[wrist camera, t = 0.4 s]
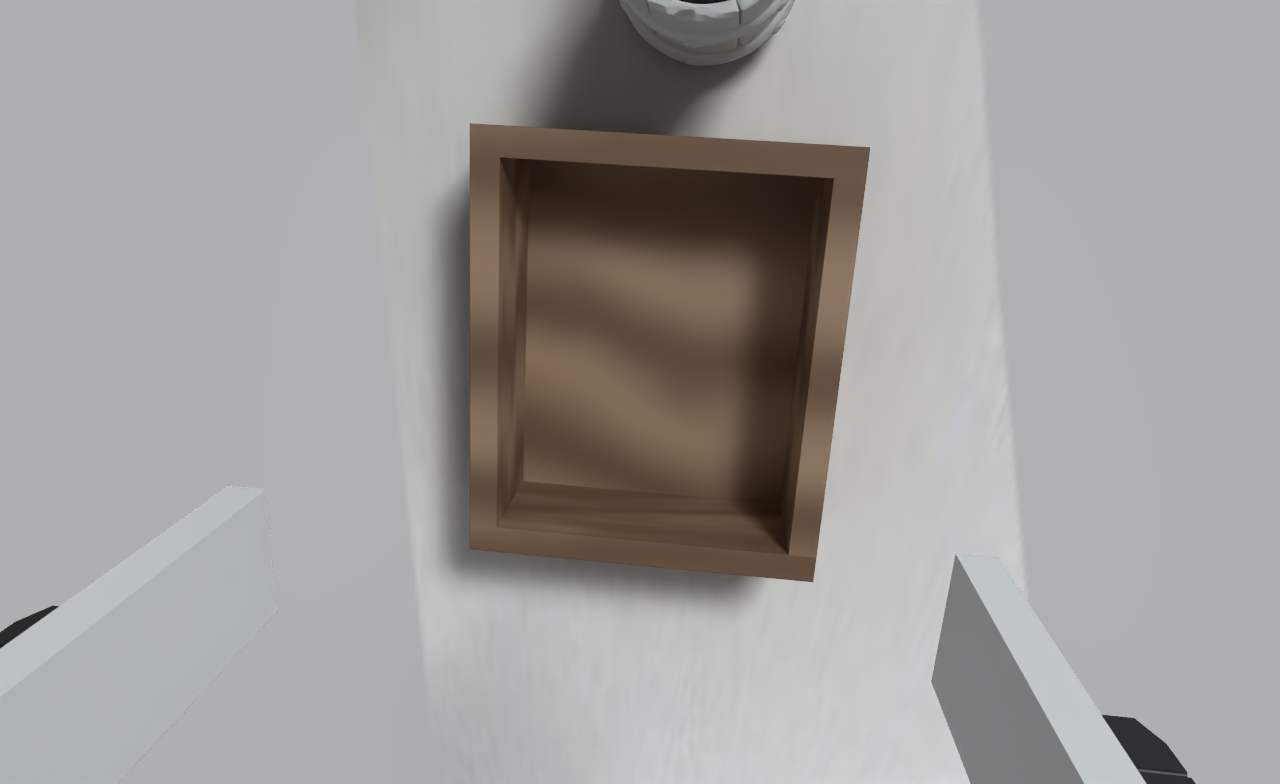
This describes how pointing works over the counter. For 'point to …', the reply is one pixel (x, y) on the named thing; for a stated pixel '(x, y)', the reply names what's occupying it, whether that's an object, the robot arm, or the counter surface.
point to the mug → (707, 27)
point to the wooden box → (657, 345)
